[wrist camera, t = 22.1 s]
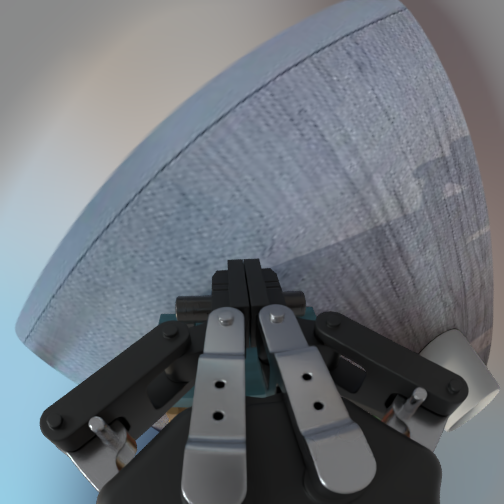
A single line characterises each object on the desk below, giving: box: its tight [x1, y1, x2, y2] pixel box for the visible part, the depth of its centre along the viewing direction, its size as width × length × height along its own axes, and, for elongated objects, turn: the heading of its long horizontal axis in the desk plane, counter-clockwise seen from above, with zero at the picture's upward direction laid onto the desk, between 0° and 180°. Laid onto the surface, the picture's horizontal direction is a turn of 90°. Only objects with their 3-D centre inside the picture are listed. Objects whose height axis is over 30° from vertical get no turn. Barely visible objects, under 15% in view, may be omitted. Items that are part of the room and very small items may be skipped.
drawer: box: [158, 291, 317, 421], centre depth 19 cm, size 18×11×7 cm, turn 179°
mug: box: [419, 329, 500, 432], centre depth 24 cm, size 12×8×11 cm
